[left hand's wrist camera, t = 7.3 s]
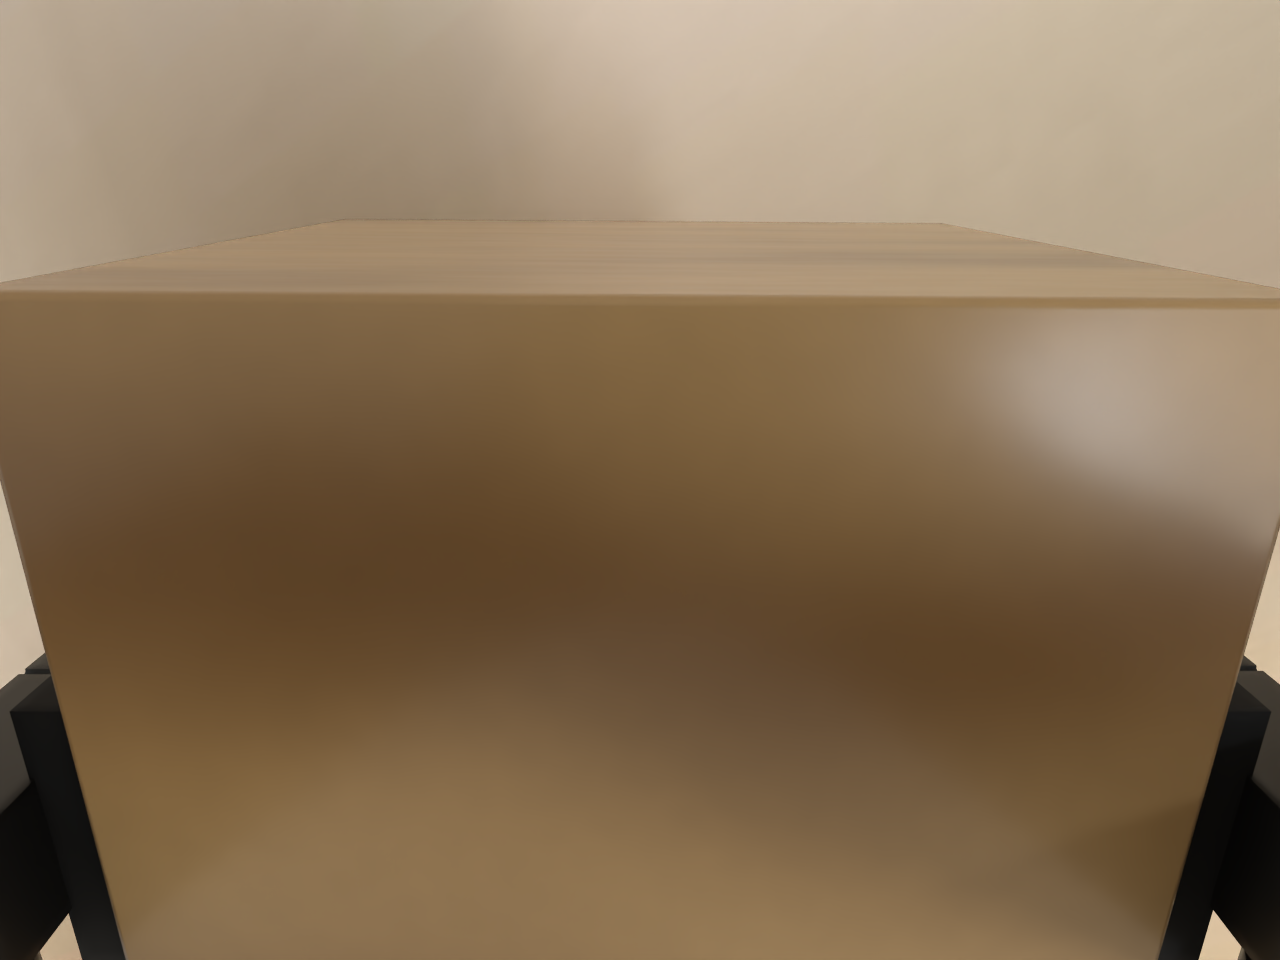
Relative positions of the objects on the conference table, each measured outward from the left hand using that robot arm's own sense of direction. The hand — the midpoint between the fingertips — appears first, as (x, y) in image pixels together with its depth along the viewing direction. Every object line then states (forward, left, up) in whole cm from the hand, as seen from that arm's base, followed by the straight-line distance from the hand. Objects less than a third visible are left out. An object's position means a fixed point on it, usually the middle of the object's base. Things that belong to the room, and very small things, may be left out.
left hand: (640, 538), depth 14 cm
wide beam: (+30, +13, -1) cm, 33 cm away
